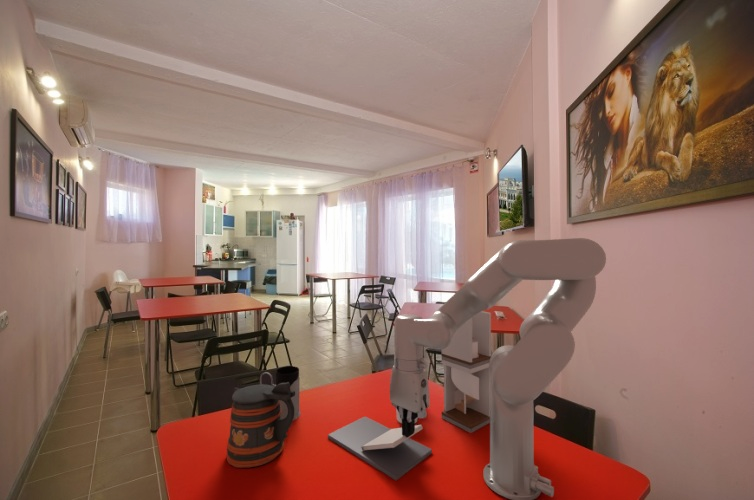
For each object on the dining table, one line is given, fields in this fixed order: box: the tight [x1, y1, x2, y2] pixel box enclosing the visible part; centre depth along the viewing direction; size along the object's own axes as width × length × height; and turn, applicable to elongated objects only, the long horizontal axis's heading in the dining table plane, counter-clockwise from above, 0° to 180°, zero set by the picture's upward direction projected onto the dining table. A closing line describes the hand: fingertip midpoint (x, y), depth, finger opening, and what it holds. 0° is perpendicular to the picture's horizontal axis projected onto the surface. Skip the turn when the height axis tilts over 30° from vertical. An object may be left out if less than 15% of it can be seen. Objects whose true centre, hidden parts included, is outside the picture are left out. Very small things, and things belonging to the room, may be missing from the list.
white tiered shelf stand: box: [441, 311, 492, 434], centre depth 106 cm, size 11×11×35 cm
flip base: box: [327, 416, 433, 481], centre depth 92 cm, size 26×15×1 cm, turn 46°
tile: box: [361, 424, 424, 450], centre depth 88 cm, size 13×12×1 cm
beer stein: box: [226, 382, 295, 469], centre depth 88 cm, size 19×15×20 cm
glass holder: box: [259, 365, 302, 421], centre depth 109 cm, size 9×14×15 cm, turn 81°
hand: (408, 434), depth 84 cm, fingers closed
